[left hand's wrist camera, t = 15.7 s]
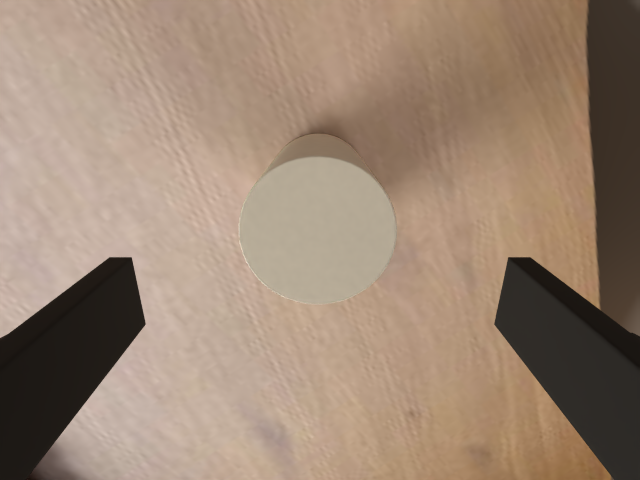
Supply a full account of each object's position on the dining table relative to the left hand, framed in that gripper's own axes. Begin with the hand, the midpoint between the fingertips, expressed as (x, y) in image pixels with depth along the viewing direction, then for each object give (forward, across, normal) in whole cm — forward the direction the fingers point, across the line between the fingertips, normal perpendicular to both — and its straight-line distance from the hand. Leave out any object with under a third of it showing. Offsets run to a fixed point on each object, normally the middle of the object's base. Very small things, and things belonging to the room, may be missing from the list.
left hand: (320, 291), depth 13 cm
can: (+19, 0, 0) cm, 19 cm away
